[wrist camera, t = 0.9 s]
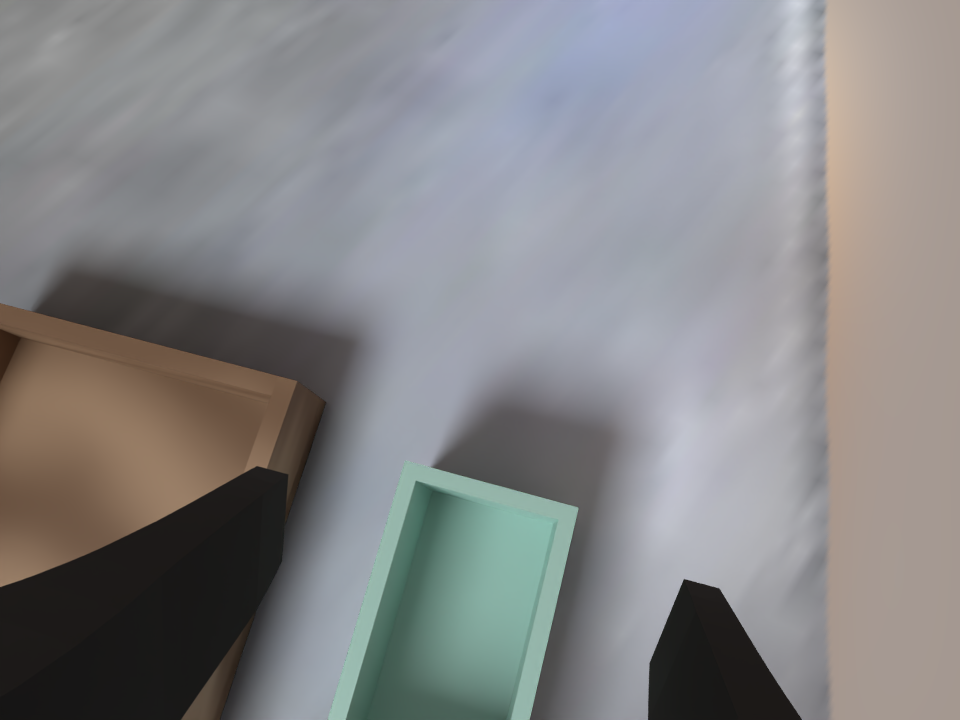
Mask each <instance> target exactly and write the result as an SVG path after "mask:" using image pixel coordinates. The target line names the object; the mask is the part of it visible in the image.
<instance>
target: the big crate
mask: <svg viewBox="0 0 960 720" xmlns="http://www.w3.org/2000/svg"><path fill="white" fill-rule="evenodd" d="M325 404H326V402H325V401H324V400H322V399H321V398H320V397H318V396H317V395H316V394H314V393H313V392H311V391H310V390H309V389H307V388H306V387H305V386H303V385H302V384H301V383H299V382H298V381H295V380H292V379H288V378H284V377H280V376H276V375H272V374H269V373H265V372H261V371H257V370H253V369H249V368H246V367H242V366H238V365H234V364H230V363H226V362H223V361H219V360H215V359H211V358H207V357H203V356H200V355H196V354H192V353H188V352H184V351H180V350H177V349H173V348H169V347H165V346H161V345H158V344H154V343H150V342H146V341H142V340H138V339H135V338H131V337H127V336H123V335H119V334H115V333H112V332H108V331H104V330H100V329H96V328H92V327H89V326H85V325H81V324H77V323H73V322H69V321H66V320H62V319H58V318H54V317H50V316H46V315H43V314H39V313H35V312H31V311H27V310H24V309H20V308H16V307H12V306H8V305H4V304H1V303H0V587H2V586H5V585H8V584H11V583H14V582H17V581H20V580H23V579H25V578H28V577H31V576H34V575H36V574H39V573H41V572H44V571H46V570H49V569H52V568H54V567H57V566H59V565H62V564H64V563H67V562H69V561H72V560H74V559H77V558H79V557H81V556H84V555H86V554H88V553H91V552H93V551H95V550H97V549H100V548H102V547H104V546H106V545H108V544H110V543H112V542H114V541H116V540H118V539H121V538H123V537H125V536H127V535H129V534H131V533H133V532H135V531H137V530H139V529H141V528H143V527H145V526H147V525H149V524H151V523H154V522H156V521H158V520H159V519H161V518H163V517H165V516H167V515H169V514H171V513H172V512H174V511H176V510H178V509H180V508H182V507H184V506H186V505H187V504H189V503H191V502H193V501H195V500H197V499H198V498H200V497H202V496H204V495H205V494H207V493H209V492H211V491H213V490H214V489H216V488H218V487H220V486H222V485H223V484H225V483H227V482H229V481H230V480H232V479H234V478H236V477H238V476H239V475H241V474H243V473H245V472H247V471H248V470H250V469H252V468H254V467H256V466H259V467H263V468H266V469H270V470H274V471H278V472H282V473H285V474H289V475H288V487H287V500H286V513H285V523H286V520H287V517H288V514H289V511H290V508H291V505H292V502H293V499H294V496H295V493H296V490H297V487H298V484H299V481H300V479H301V476H302V473H303V470H304V467H305V464H306V461H307V458H308V455H309V452H310V449H311V446H312V443H313V440H314V437H315V434H316V431H317V428H318V425H319V422H320V419H321V416H322V413H323V410H324V407H325ZM255 613H256V611H255ZM255 613H254V614H253V616H252V617H251V619H250V620H249V622H248V623H247V625H246V626H245V628H244V629H243V631H242V632H241V634H240V635H239V637H238V638H237V640H236V641H235V642H234V644H233V645H232V647H231V648H230V650H229V651H228V653H227V654H226V656H225V657H224V658H223V660H222V661H221V663H220V664H219V666H218V667H217V669H216V670H215V671H214V673H213V674H212V676H211V677H210V679H209V680H208V682H207V683H206V684H205V686H204V687H203V689H202V690H201V692H200V693H199V694H198V696H197V697H196V699H195V700H194V702H193V703H192V705H191V706H190V707H189V709H188V710H187V712H186V713H185V715H184V716H183V718H182V719H181V720H220V717H221V714H222V711H223V708H224V705H225V702H226V699H227V696H228V693H229V691H230V688H231V685H232V682H233V679H234V676H235V673H236V670H237V667H238V664H239V661H240V658H241V655H242V652H243V649H244V646H245V643H246V640H247V637H248V634H249V631H250V628H251V625H252V622H253V619H254V616H255Z"/></svg>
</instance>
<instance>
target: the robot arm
mask: <svg viewBox="0 0 960 720" xmlns="http://www.w3.org/2000/svg"><path fill="white" fill-rule="evenodd" d="M288 475H289V474H285V473H282V472H278V471H274V470H270V469H266V468H263V467H259V466H256V467H254V468H252V469H250V470H248V471H247V472H245V473H243V474H241V475H239V476H238V477H236V478H234V479H232V480H230V481H229V482H227V483H225V484H223V485H222V486H220V487H218V488H216V489H214V490H213V491H211V492H209V493H207V494H205V495H204V496H202V497H200V498H198V499H197V500H195V501H193V502H191V503H189V504H187V505H186V506H184V507H182V508H180V509H178V510H176V511H174V512H172V513H171V514H169V515H167V516H165V517H163V518H161V519H159V520H158V521H156V522H154V523H151V524H149V525H147V526H145V527H143V528H141V529H139V530H137V531H135V532H133V533H131V534H129V535H127V536H125V537H123V538H121V539H118V540H116V541H114V542H112V543H110V544H108V545H106V546H104V547H102V548H100V549H97V550H95V551H93V552H91V553H88V554H86V555H84V556H81V557H79V558H77V559H74V560H72V561H69V562H67V563H64V564H62V565H59V566H57V567H54V568H52V569H49V570H46V571H44V572H41V573H39V574H36V575H34V576H31V577H28V578H25V579H23V580H20V581H17V582H14V583H11V584H8V585H5V586H2V587H0V720H181V719H182V718H183V716H184V715H185V713H186V712H187V710H188V709H189V707H190V706H191V705H192V703H193V702H194V700H195V699H196V697H197V696H198V694H199V693H200V692H201V690H202V689H203V687H204V686H205V684H206V683H207V682H208V680H209V679H210V677H211V676H212V674H213V673H214V671H215V670H216V669H217V667H218V666H219V664H220V663H221V661H222V660H223V658H224V657H225V656H226V654H227V653H228V651H229V650H230V648H231V647H232V645H233V644H234V642H235V641H236V640H237V638H238V637H239V635H240V634H241V632H242V631H243V629H244V628H245V626H246V625H247V623H248V622H249V620H250V619H251V617H252V616H253V614H254V613H255V611H256V610H257V608H258V606H259V604H260V602H261V601H262V599H263V597H264V595H265V593H266V591H267V589H268V587H269V586H270V584H271V582H272V580H273V578H274V576H275V574H276V572H277V570H278V568H279V566H280V564H281V562H282V551H283V539H284V526H285V513H286V500H287V487H288ZM648 720H802V719H801V717H800V716H799V715H798V713H797V712H796V710H795V709H794V707H793V706H792V704H791V703H790V701H789V700H788V698H787V697H786V695H785V694H784V692H783V691H782V689H781V688H780V686H779V685H778V683H777V682H776V680H775V678H774V677H773V675H772V674H771V672H770V671H769V669H768V668H767V666H766V664H765V663H764V661H763V660H762V658H761V656H760V655H759V653H758V651H757V650H756V648H755V647H754V645H753V643H752V642H751V640H750V638H749V637H748V635H747V633H746V632H745V630H744V628H743V627H742V625H741V623H740V622H739V620H738V618H737V617H736V615H735V613H734V612H733V610H732V608H731V607H730V605H729V603H728V602H727V600H726V598H725V597H724V595H723V594H722V592H721V590H720V589H719V588H715V587H712V586H708V585H704V584H700V583H697V582H693V581H689V580H685V579H684V580H683V583H682V585H681V588H680V590H679V593H678V595H677V597H676V600H675V602H674V605H673V607H672V610H671V612H670V615H669V617H668V619H667V622H666V624H665V627H664V629H663V632H662V634H661V637H660V639H659V642H658V644H657V646H656V649H655V651H654V654H653V656H652V659H651V661H650V669H649V701H648Z"/></svg>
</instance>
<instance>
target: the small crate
mask: <svg viewBox="0 0 960 720" xmlns="http://www.w3.org/2000/svg"><path fill="white" fill-rule="evenodd" d="M578 509H579V508H578V507H575V506H571V505H567V504H564V503H560V502H556V501H553V500H549V499H545V498H541V497H538V496H534V495H530V494H527V493H523V492H519V491H516V490H512V489H508V488H505V487H501V486H497V485H494V484H490V483H486V482H483V481H479V480H475V479H471V478H468V477H464V476H460V475H457V474H453V473H449V472H446V471H442V470H438V469H435V468H431V467H427V466H424V465H420V464H416V463H412V462H409V461H405V462H404V466H403V469H402V472H401V476H400V479H399V482H398V486H397V489H396V492H395V496H394V499H393V502H392V506H391V509H390V512H389V516H388V519H387V523H386V526H385V529H384V533H383V536H382V539H381V543H380V546H379V549H378V553H377V556H376V559H375V563H374V566H373V569H372V573H371V576H370V579H369V583H368V586H367V589H366V593H365V596H364V599H363V603H362V606H361V609H360V613H359V616H358V620H357V623H356V626H355V630H354V633H353V636H352V640H351V643H350V646H349V650H348V653H347V656H346V660H345V663H344V666H343V670H342V673H341V676H340V680H339V683H338V686H337V690H336V693H335V696H334V700H333V703H332V706H331V710H330V713H329V717H328V720H530V716H531V711H532V707H533V703H534V698H535V694H536V690H537V686H538V681H539V677H540V673H541V668H542V664H543V660H544V655H545V651H546V647H547V642H548V638H549V634H550V629H551V625H552V621H553V616H554V612H555V608H556V604H557V599H558V595H559V591H560V586H561V582H562V578H563V573H564V569H565V565H566V560H567V556H568V552H569V547H570V543H571V539H572V535H573V530H574V526H575V522H576V517H577V513H578Z"/></svg>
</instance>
